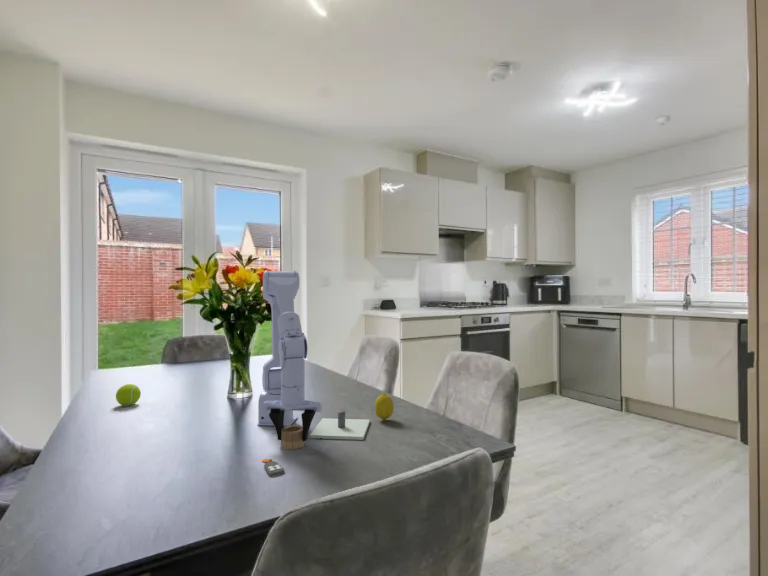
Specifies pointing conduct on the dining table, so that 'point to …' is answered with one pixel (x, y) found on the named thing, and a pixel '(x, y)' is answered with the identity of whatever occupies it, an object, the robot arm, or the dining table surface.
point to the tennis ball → (128, 395)
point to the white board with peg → (341, 428)
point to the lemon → (384, 407)
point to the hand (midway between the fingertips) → (292, 439)
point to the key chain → (273, 468)
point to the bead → (292, 437)
